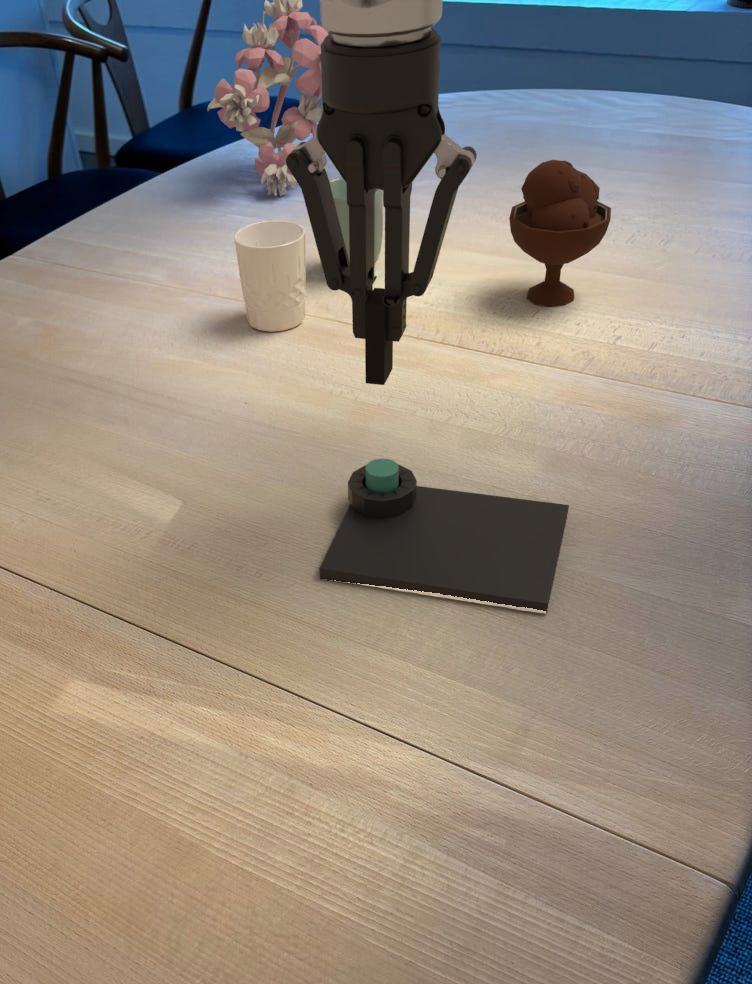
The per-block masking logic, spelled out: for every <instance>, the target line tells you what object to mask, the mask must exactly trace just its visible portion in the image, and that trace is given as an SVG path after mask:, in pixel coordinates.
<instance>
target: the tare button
mask: <svg viewBox="0 0 752 984" xmlns="http://www.w3.org/2000/svg"><path fill="white" fill-rule="evenodd" d="M365 465H366V468H365V470H366V487H367V489H369V490H370V491H373V492H381V493H383V492H389V491H393V490H395V489H396V488H397V487H398V484H399V466H398V465H399V463H397V461H395V460H393V459H390V458H376V459H375V458H374V459H373V460H370V461H369V462H368V463H366V464H365Z"/></svg>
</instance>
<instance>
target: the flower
mask: <svg viewBox="0 0 752 984" xmlns="http://www.w3.org/2000/svg"><path fill="white" fill-rule="evenodd" d="M263 6H264V10H263V12H262V21H261V23H260V22H258V21H257V24H256V23H255V22H252V24H253V26H252V27H251V28H250V29H248V27H247V25H246V23H244V25H243V31H242V39H243V41H244V42H245V44H246V45H248V46H249V47H247V48H244V49H241V50H239V51H236V55H235V58H234V60H235V65H236V69H237V70H235V71H234V78H233V87H232V86H231V84H230V83H228V81H227V80H226V79H224V78H223V77H222V78H221V79H220V80H219V82H218V83H217V85H216V87H215V89H214V92H213V93H214V98H213V99H212V100H211V101H210V102H209V104H208V105H207V108H206V111H207V112H209V111H210V110H213V109H217V108H221V109H219V110H218V111H217V112H216V113H217V115H218V118H219V120H220V121H221V122H222V123H223V124H224V125H225V126H226V127H228V128H229V129H233V128H235V130H236V131H237V132H241V133H240V136H242V137H243V138H244V139H245V140H247V141H248V142H249V143H251V144H252V145H254V146H255V147H256V148H258V155H257V156H258V157H254V169H255V171H257V173H258V174H259V176H261V177H260V185H263V184H265V183H266V189H265V191H267V196H270V195H273V196H275V197H277V196H278V195H277V191H278V193H279V197H282V196H285V195H286V194H287V191H288V190H287V186H288V185H289V186H290V187H291V188H292V189H293V190H294V189H295V187H296V185H297V184H298V183H297V181H296V180H295V178H294V176H293V175H292V173H291V172H290V170H289V169H288V167H287V165H286V158H287V156H288V155H289V154H290V153H291V152H292V151H293V150H294V149H295V148H296V147H297V146H298V145H299V143H300V142H304V140H306V139H308V138H309V137H310V136H311V134H312V138H313V137H314V136H315V135H317V134H316V130H317V125H318V123H319V121H320V118H321V116H322V111H323V103H322V76H321V43H322V42H323V41H324V38H325V37H326V36H327V35H329V32H327V31H326V30H325V29H324V28H323V27H322V26H321V25H320V24H319V25H318V23H317V20H316V19H315V18H314V17H313V16H311V15H310V13H309V11H308V12H307V11H301V10H302V9H303V7H304V6H303V0H272V2H270V1H268V0H265V1H264V3H263ZM266 15H268V16H269V17H270V18H271V19H274V21H273V22H272V23H270V24H269V26H268V27H267V26H266V24H265V16H266ZM301 30H302V31H303V32H307V34H309V35H310V37H313V39H314V41H315V43H314V42H313V41H312V40H310V39H308V38H307V37H306V38H300V35H301ZM299 38H300V39H299ZM277 41H281V42H282V44H283V45H284V46H285V47H287V48H288V49H291V51H290V52H291V56H284V55H283V56H282V55H281V54H279V53H278V52H277V51H276V50H275V49H276V44H277ZM265 58H266V61H267V63H268V65H269V66H268V65H265V66H264V68H263V70H262V72H261V73H260V69H261V68H262V66H263V64H264V63H265ZM244 62H245V64H246V67H247V69H245V68H241V67H242V66H243V63H244ZM294 63H296V66H295V67H294ZM303 67H304V68H308V69H307V70H306V71H305V72H304V73H302V74H301V75H300V76H299V77H298V78H297V79H295V80H294V84H295V87H296V89H297V90H298V91H299V92H300V93H301V95H300V96H299V105H298V107H297V106H292V107H290V108H287V110H285V111H284V113H283V114H282V117H281V119H280V121H281V123H282V124H281V125H280V126H279V128H278V130H277V132H276V126H277V123H278V120H279V117H280V114H281V111H282V107H283V104H284V100H285V97H286V94H287V91H288V88H289V87H290V86H291V82H292V81H293V78H294V75H295V74H296V72H297V70H299V69H301V68H303ZM254 72H255V74H254ZM277 84H278V85H280V87H279V91H278V94H277V98H276V100H275V101H276V103H275V105H274V109H273V111H272V116H271V117H272V118H271V122H270V128H266V127H264V126H261V127H260V124H261V118H259V117H258V116H257V114H256V113H262V112H263V113H264V112H266V111H267V110H268V109H269V108H270V104H271V102H270V93H269V88H272V87H273V86H275V85H277ZM320 99H321V100H320ZM321 103H322V104H321ZM320 104H321V105H320ZM275 132H276V134H275ZM296 140H298V141H300V142H295V141H296ZM294 142H295V143H294ZM276 149H277V152H276V151H275V150H276Z"/></svg>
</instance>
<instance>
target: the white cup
mask: <svg viewBox="0 0 752 984" xmlns="http://www.w3.org/2000/svg"><path fill="white" fill-rule="evenodd" d="M233 238H234V239H233V241H234V247H235V252H236V253H235V254H236V259H237V266H238V274H239V279H240V280H239V281H240V286H241V291H242V297H243V301H244V305H245V313H246V318H247V319H246V320H247V322H248V324H249V326H250V327H252V328H253V329H255V330H257V331H262V332H270V333H271V332H272V333H273V332H282V331H287V330H290V329H293V328H296V327H297V326H299V325H300V324H302V323H303V321H304V319H305V318H306V317H305V316H306V299H305V298H306V289H307V288H306V277H307V274H306V273H307V269H306V268H307V266H306V261H307V260H306V259H307V258H306V228H304V226H303V225H301V224H300V223H298V222H294V221H291V220H290V221H289V220H282V219H281V220H280V219H275V220H274V219H273V220H272V219H271V220H263V221H259V222H258V221H257V222H253V223H250V224H247V225H244V226H243V227H241V228H239V229H238V230H237V231H236V232H235V233H234V236H233Z"/></svg>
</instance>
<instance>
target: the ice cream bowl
mask: <svg viewBox="0 0 752 984" xmlns="http://www.w3.org/2000/svg"><path fill="white" fill-rule="evenodd" d="M600 189H601V188H600V186H598V184H597V183H596V181H594V179H592V178H591V177H590V176H589V175H588V174H587V173H584V172H582V171H580V170H577V169H576V168H575V167H574V166H573V164H572V163H571V162H569V161H567V160H559V159H550V160H547V161H543V162H541V163H539V164H538V165H537V166H535V168H533V169H532V170H530V171H529V172H528V174H527V175H526V177H525V179H524V182H523V184H522V186H521V188H520V190H521V193H522V198H523V200H524V201H522V202H520V203H518V204H515V205H512V207H511V210H510V215H509V227H510V228H509V230H510V234H511V236H512V238H513V239H512V240H513V242H514V243H515V244H516V245H517V246H518V247H519V248H520V250H521V251H522V252H523V253H525V254H526V255H528V256H529V257H530V258H532V259H534V260H536V261H537V262H539V263H541V264H544V267H545V274H544V280H543V281H541V282H538V283H537V284H535V285H532V286H531V287H529V288H528V291H527V293H526V300H528V301H529V302H530V303H532V304H533V305H536V306H541V307H547V308H552V307H561V306H566V305H568V304H570V303H571V302H573V301H575V290H574V288H572V287H570V286H569V285H567V284H566V283H564V282H563V281H561V273H562V269H563V267H564V265H566V264H570V263H571V262H574V261H575V260H578V259H579V258H581V257H584V256H585V255H587V254H588V253H590V252H591V251H592V250H594V249H595V248H596V247H598V245H600V243H601V242H602V241H603V238H604V237H605V235H607V232H608V229H609V226H610V222H611V219H612V217H611V215H612V207H611V206H608V205H606V204H604V203H603V202H600V201H599V199H600V191H601V190H600Z"/></svg>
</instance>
